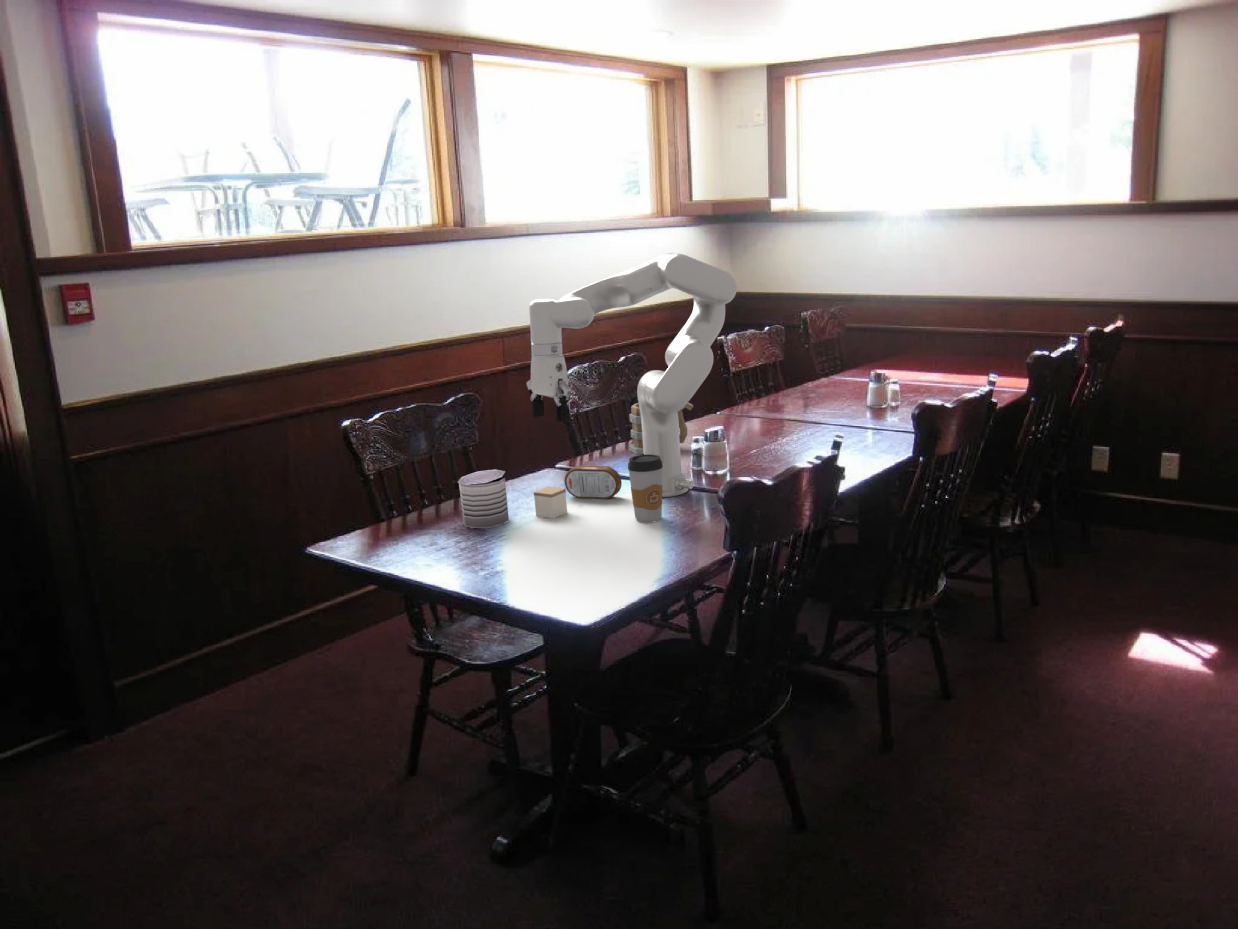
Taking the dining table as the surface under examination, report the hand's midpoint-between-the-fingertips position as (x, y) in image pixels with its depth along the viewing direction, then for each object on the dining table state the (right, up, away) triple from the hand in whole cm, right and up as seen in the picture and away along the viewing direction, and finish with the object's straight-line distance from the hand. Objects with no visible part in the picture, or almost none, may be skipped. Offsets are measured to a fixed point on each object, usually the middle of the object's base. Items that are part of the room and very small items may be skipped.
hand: (550, 418), depth 265 cm
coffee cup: (+24, -25, -10) cm, 36 cm away
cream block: (0, -24, 0) cm, 24 cm away
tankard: (+31, -7, +58) cm, 66 cm away
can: (-15, -26, -3) cm, 30 cm away
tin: (+11, -20, +12) cm, 26 cm away
